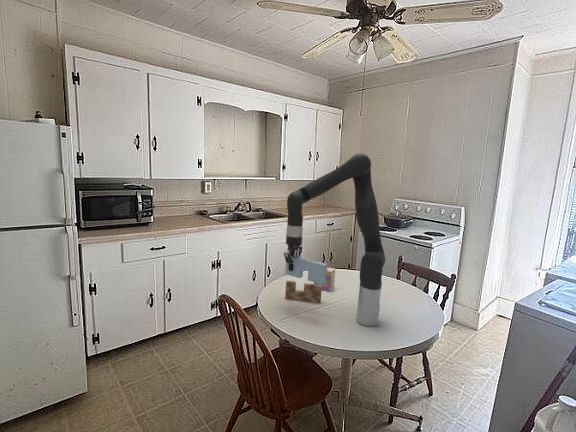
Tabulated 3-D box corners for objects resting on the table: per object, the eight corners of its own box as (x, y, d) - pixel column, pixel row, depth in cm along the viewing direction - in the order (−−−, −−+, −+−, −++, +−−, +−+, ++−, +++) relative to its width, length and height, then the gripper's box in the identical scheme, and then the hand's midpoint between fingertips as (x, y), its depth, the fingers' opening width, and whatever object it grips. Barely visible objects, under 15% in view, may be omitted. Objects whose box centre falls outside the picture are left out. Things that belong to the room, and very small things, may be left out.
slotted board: (320, 301, 158) (322, 285, 156) (320, 303, 156) (321, 286, 154) (285, 296, 161) (286, 280, 159) (285, 298, 159) (286, 282, 157)
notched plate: (325, 283, 140) (327, 264, 138) (323, 284, 138) (325, 265, 136) (288, 272, 150) (288, 254, 148) (285, 274, 148) (286, 256, 146)
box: (312, 287, 174) (314, 267, 172) (316, 284, 179) (318, 264, 177) (330, 292, 169) (332, 271, 167) (334, 288, 174) (335, 268, 172)
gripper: (293, 238, 136) (291, 276, 139) (308, 232, 148) (306, 267, 151) (279, 235, 140) (277, 272, 143) (294, 230, 152) (293, 264, 155)
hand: (292, 269), depth 147 cm, fingers closed on notched plate, 2 cm apart
